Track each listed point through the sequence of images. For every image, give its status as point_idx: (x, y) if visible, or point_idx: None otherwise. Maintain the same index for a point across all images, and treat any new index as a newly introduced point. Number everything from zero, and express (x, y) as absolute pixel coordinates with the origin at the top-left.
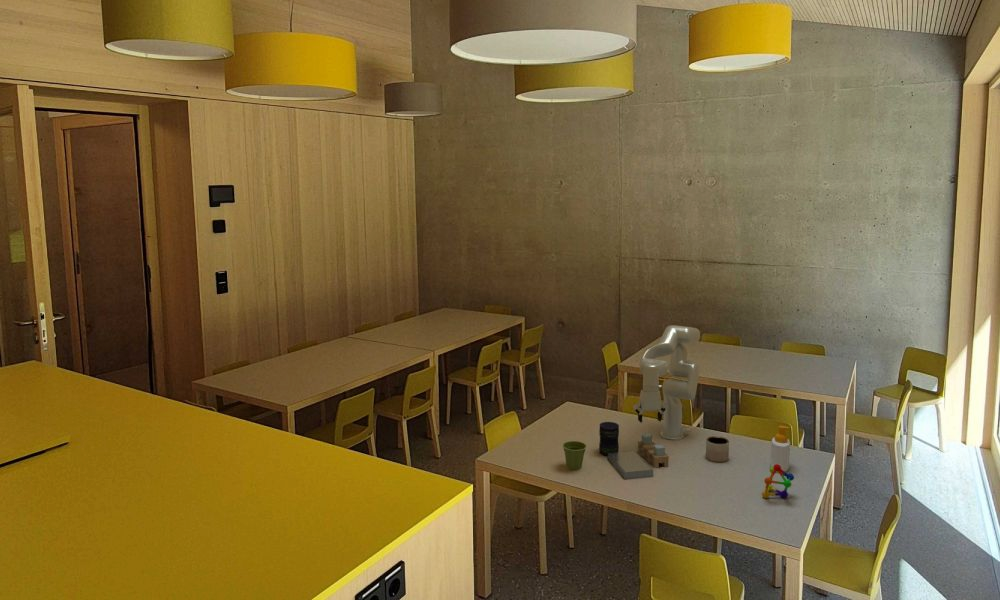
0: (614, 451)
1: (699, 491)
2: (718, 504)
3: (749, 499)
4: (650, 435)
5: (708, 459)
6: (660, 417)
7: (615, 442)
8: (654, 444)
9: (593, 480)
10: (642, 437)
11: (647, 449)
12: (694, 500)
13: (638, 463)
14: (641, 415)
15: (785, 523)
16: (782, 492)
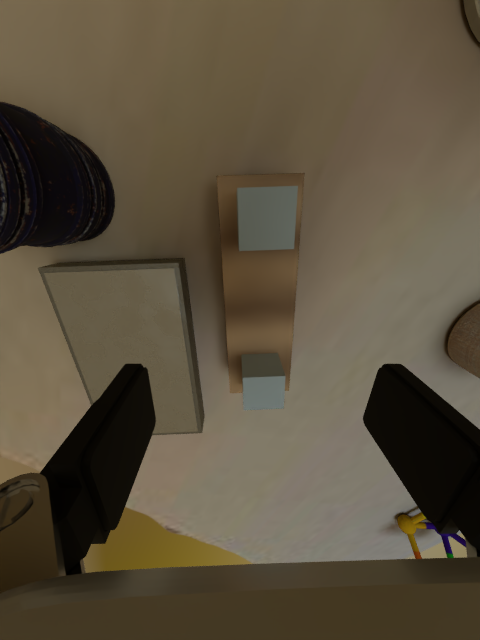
0: (76, 241)
1: (286, 487)
2: (293, 524)
3: (365, 517)
4: (288, 231)
5: (449, 336)
6: (403, 472)
7: (45, 238)
8: (290, 256)
9: (13, 415)
10: (237, 205)
11: (229, 312)
12: (255, 511)
13: (164, 386)
14: (97, 538)
15: None
16: (440, 534)
